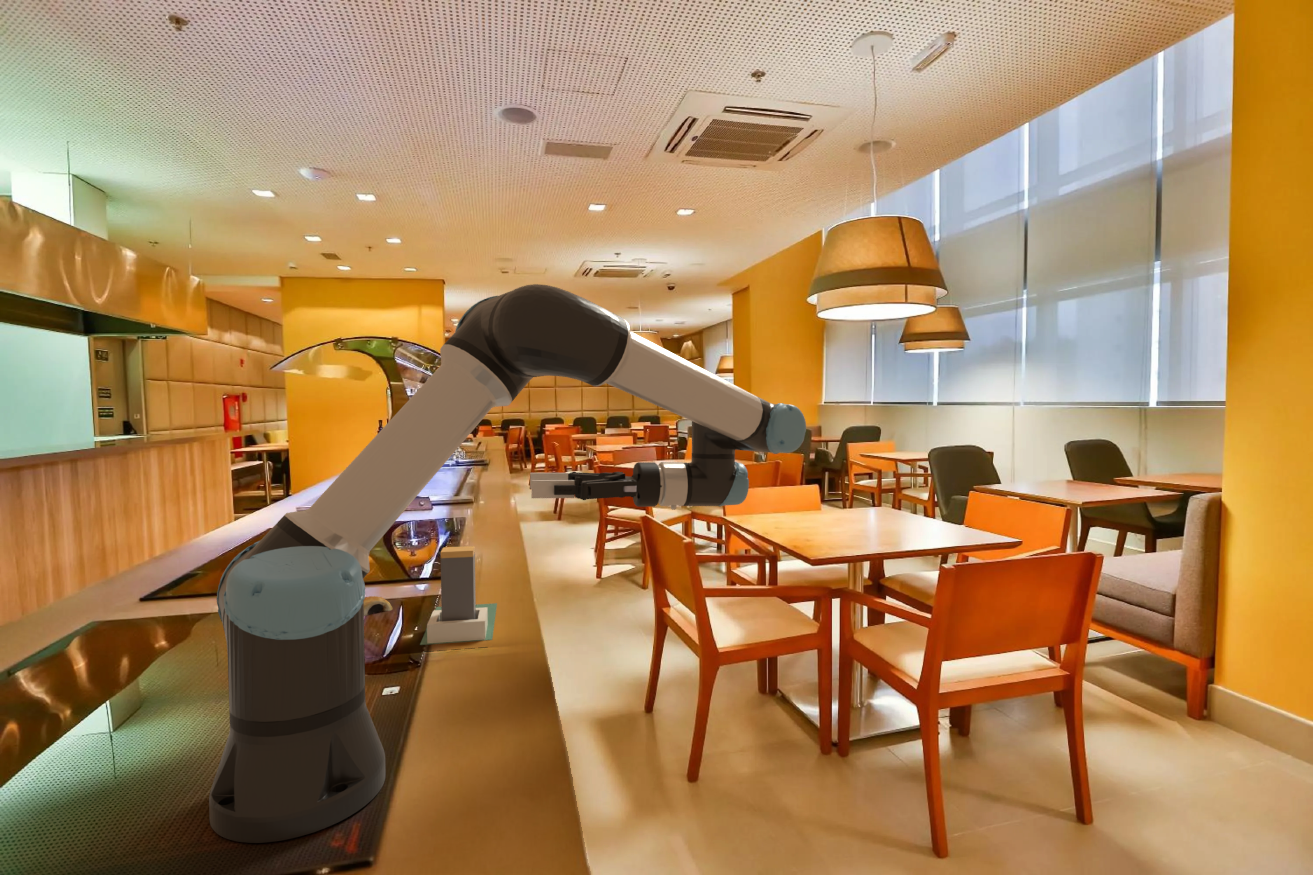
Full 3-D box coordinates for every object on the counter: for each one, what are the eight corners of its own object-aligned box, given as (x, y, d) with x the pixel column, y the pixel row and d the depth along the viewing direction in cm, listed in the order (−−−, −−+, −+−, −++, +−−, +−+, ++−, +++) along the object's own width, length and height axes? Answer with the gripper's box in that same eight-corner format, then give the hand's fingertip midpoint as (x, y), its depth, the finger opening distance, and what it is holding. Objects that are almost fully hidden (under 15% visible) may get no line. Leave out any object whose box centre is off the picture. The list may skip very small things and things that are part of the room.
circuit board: (492, 646, 103) (492, 639, 103) (419, 652, 101) (419, 644, 101) (497, 609, 123) (497, 603, 123) (436, 613, 121) (436, 606, 121)
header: (485, 639, 103) (484, 620, 103) (427, 643, 101) (427, 624, 101) (487, 624, 111) (487, 607, 110) (433, 627, 109) (433, 610, 109)
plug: (474, 636, 105) (473, 550, 104) (441, 638, 104) (440, 551, 103) (475, 628, 108) (474, 546, 108) (444, 630, 107) (443, 547, 107)
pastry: (341, 613, 121) (341, 593, 121) (378, 606, 126) (377, 586, 126) (358, 625, 115) (358, 604, 114) (396, 617, 119) (396, 596, 119)
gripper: (674, 517, 98) (531, 519, 94) (643, 497, 122) (529, 498, 118) (675, 467, 98) (532, 467, 93) (644, 457, 122) (529, 457, 118)
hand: (530, 484), depth 106 cm, fingers open, 13 cm apart
